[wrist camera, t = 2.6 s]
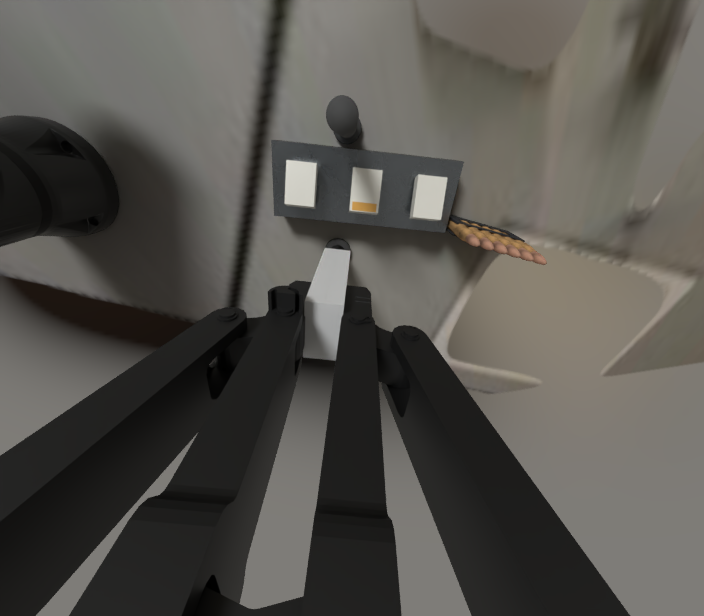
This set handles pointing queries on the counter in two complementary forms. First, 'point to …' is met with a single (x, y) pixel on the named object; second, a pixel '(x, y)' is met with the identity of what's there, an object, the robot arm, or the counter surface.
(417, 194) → the paddle right
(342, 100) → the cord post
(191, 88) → the counter surface
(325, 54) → the counter surface
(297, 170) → the paddle left
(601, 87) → the counter surface
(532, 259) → the ammunition clip
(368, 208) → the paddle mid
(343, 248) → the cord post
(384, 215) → the breaker panel
